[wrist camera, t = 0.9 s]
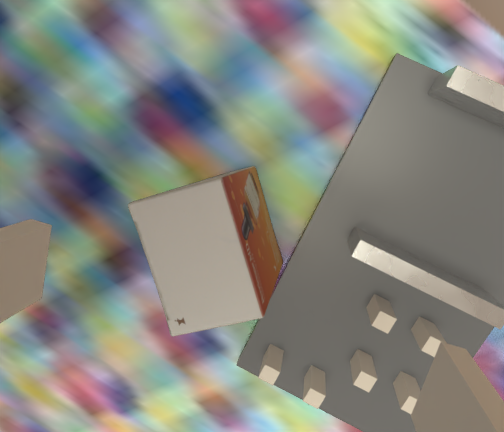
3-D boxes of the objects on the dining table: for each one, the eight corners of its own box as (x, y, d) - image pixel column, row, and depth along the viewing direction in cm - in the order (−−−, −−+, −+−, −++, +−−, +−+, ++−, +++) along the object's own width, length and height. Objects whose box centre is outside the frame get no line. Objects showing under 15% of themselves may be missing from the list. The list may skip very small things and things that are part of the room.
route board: (238, 358, 33) (227, 387, 29) (394, 56, 27) (406, 42, 23) (403, 444, 32) (414, 486, 28) (604, 151, 26) (655, 153, 22)
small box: (284, 262, 31) (266, 322, 21) (218, 277, 32) (170, 341, 22) (256, 163, 30) (223, 175, 20) (188, 182, 31) (124, 203, 21)
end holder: (347, 240, 29) (351, 256, 25) (436, 76, 26) (457, 65, 22) (475, 303, 28) (500, 329, 24) (582, 142, 25) (631, 142, 21)
